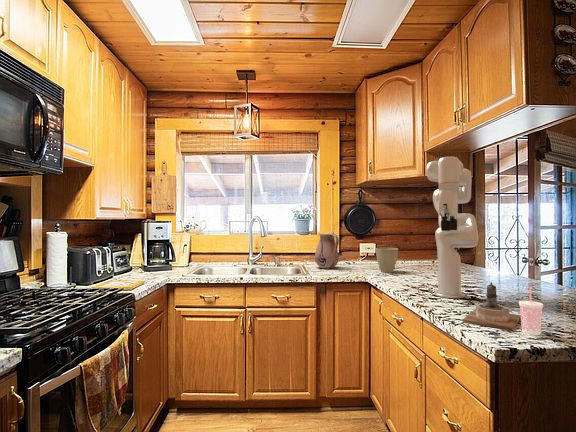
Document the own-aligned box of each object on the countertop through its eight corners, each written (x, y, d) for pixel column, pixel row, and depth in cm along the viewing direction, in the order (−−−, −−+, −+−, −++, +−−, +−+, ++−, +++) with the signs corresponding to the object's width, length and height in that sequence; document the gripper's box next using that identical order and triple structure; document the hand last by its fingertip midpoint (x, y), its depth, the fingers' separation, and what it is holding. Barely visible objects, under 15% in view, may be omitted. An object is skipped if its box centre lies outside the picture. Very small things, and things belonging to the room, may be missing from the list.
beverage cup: (514, 329, 105) (513, 284, 105) (532, 328, 105) (531, 284, 106) (530, 336, 99) (529, 288, 99) (549, 335, 99) (548, 288, 100)
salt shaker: (495, 314, 118) (494, 280, 118) (506, 319, 112) (505, 283, 112) (478, 314, 118) (477, 280, 118) (488, 319, 112) (488, 283, 112)
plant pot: (377, 273, 218) (377, 249, 219) (374, 270, 233) (373, 247, 233) (400, 274, 217) (400, 249, 217) (396, 270, 231) (395, 247, 232)
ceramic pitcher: (325, 265, 259) (325, 233, 259) (347, 268, 243) (347, 234, 244) (309, 268, 247) (309, 234, 248) (332, 271, 232) (331, 234, 232)
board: (475, 311, 126) (475, 299, 126) (520, 318, 117) (520, 305, 117) (462, 322, 113) (462, 308, 113) (512, 331, 104) (512, 316, 104)
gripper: (445, 190, 144) (446, 229, 144) (431, 187, 131) (432, 230, 131) (464, 188, 139) (465, 230, 139) (452, 185, 126) (453, 231, 126)
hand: (449, 230), depth 135 cm, fingers open, 9 cm apart
